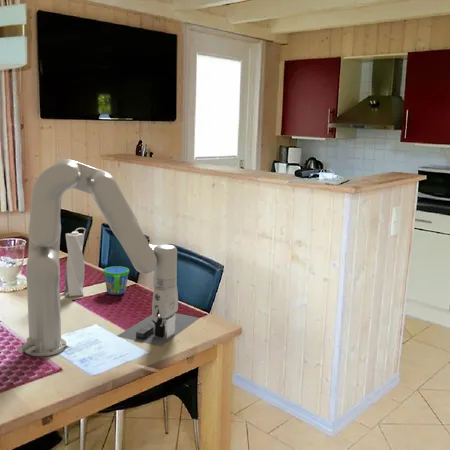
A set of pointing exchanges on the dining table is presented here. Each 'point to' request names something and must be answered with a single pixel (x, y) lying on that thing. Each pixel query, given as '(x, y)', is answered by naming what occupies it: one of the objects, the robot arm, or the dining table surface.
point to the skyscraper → (74, 264)
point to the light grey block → (167, 327)
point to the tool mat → (130, 333)
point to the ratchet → (146, 331)
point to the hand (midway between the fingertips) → (164, 332)
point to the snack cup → (116, 279)
